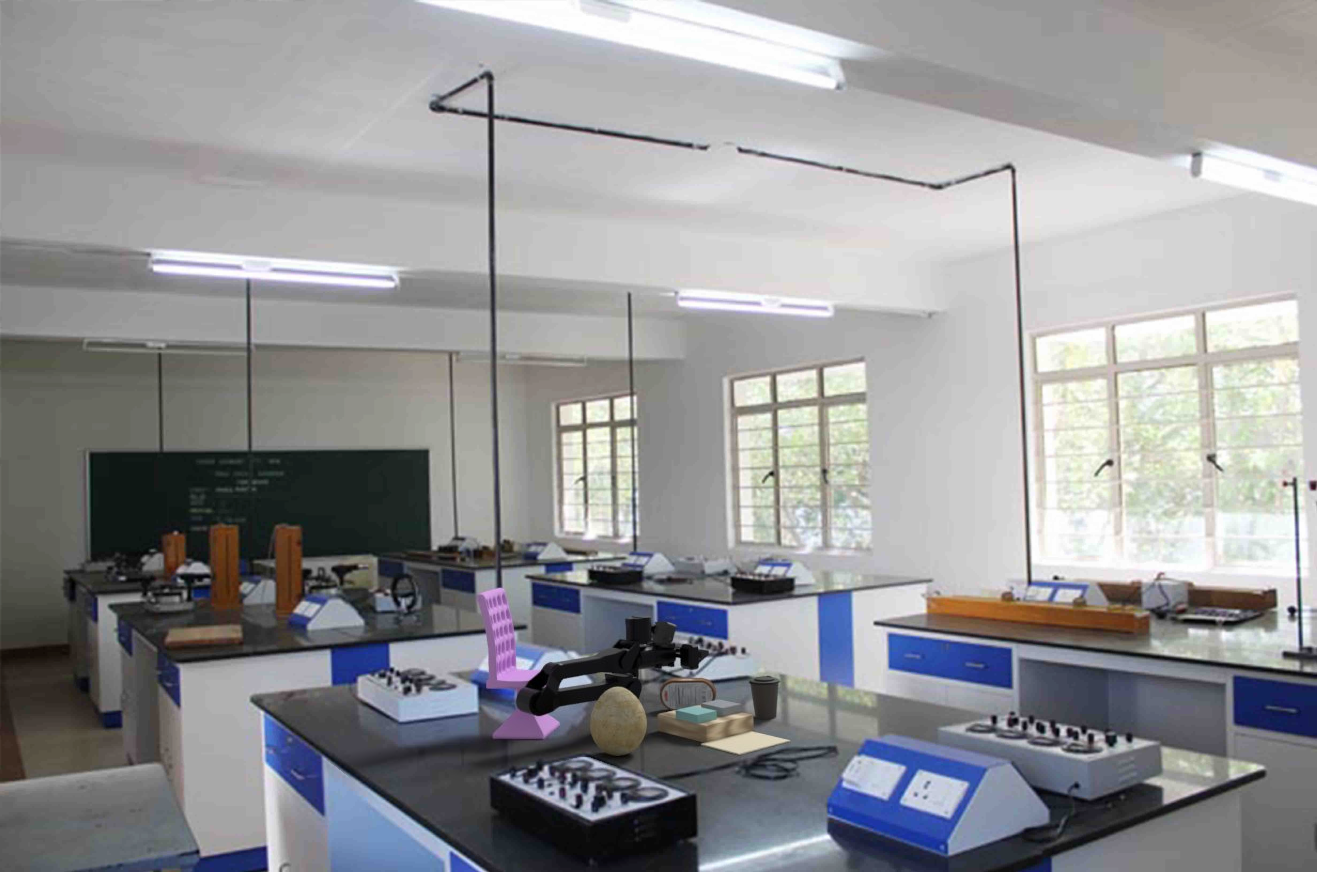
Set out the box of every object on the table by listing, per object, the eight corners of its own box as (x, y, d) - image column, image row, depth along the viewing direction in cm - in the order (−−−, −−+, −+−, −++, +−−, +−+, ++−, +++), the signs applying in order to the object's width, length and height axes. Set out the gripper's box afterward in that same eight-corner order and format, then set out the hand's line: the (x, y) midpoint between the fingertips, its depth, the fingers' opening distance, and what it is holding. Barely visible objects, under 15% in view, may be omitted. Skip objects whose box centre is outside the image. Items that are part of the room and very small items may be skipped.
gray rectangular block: (723, 716, 248) (723, 707, 248) (701, 711, 254) (701, 703, 254) (741, 712, 252) (741, 703, 252) (719, 707, 258) (719, 699, 258)
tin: (716, 708, 276) (715, 676, 276) (716, 711, 273) (715, 678, 273) (660, 709, 277) (659, 677, 278) (659, 711, 274) (658, 679, 274)
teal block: (697, 723, 242) (697, 714, 242) (675, 718, 248) (675, 709, 248) (716, 719, 245) (716, 710, 245) (694, 714, 252) (694, 705, 252)
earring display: (546, 740, 248) (541, 593, 249) (477, 739, 251) (473, 594, 253) (564, 725, 262) (559, 586, 264) (499, 724, 265) (495, 587, 267)
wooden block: (707, 743, 239) (706, 725, 239) (658, 730, 253) (657, 713, 253) (753, 731, 248) (753, 714, 249) (704, 719, 262) (703, 703, 263)
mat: (739, 754, 228) (739, 753, 228) (701, 744, 238) (701, 743, 238) (790, 741, 238) (790, 740, 238) (751, 732, 248) (751, 731, 248)
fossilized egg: (584, 751, 236) (581, 685, 236) (636, 744, 240) (634, 679, 241) (600, 765, 224) (598, 695, 224) (655, 757, 228) (653, 688, 229)
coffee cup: (781, 712, 267) (779, 673, 268) (782, 720, 259) (780, 679, 260) (750, 713, 268) (748, 674, 268) (749, 720, 260) (748, 680, 260)
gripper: (672, 626, 253) (720, 621, 263) (626, 621, 268) (673, 617, 278) (673, 672, 252) (721, 666, 262) (627, 665, 267) (674, 659, 277)
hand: (696, 650), depth 270 cm, fingers open, 9 cm apart
